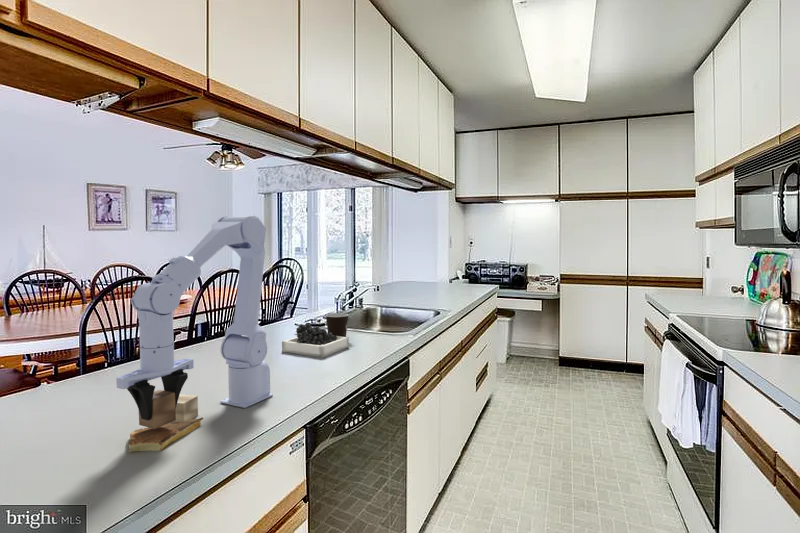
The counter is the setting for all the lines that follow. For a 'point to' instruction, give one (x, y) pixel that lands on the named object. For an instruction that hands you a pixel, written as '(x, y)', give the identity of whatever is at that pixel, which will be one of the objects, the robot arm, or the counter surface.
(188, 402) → the maple block
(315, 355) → the fruit dish
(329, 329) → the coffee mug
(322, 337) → the fruit
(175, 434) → the shard
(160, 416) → the walnut block
